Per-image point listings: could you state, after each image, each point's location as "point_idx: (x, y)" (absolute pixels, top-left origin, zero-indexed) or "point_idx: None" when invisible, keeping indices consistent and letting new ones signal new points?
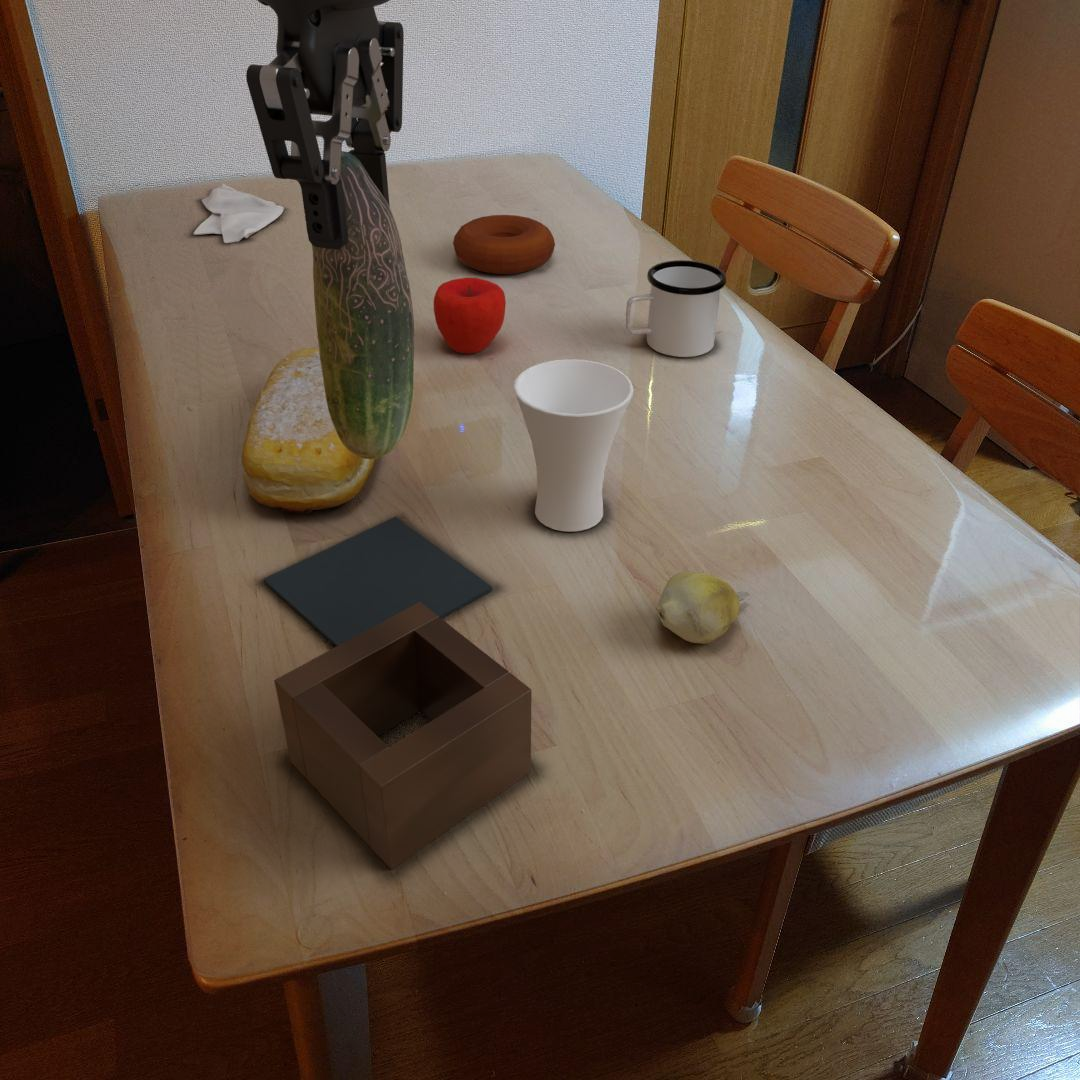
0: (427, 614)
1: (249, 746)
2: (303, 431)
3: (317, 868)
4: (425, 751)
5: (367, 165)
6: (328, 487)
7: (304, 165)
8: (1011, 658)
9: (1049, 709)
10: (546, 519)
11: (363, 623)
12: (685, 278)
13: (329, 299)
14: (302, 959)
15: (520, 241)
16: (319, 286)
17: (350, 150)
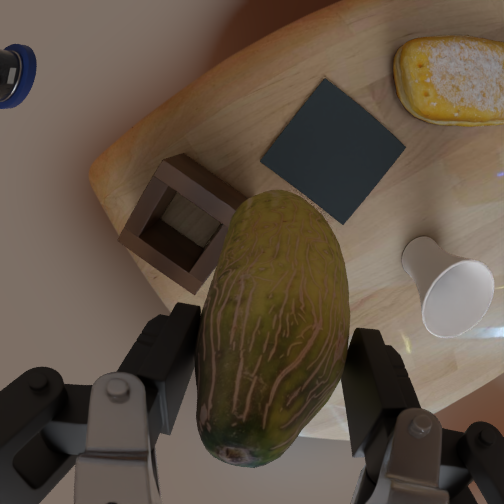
0: None
1: (188, 127)
2: (443, 80)
3: (133, 191)
4: (141, 254)
5: (359, 422)
6: (407, 103)
7: (35, 438)
8: (314, 425)
9: None
10: (408, 247)
11: (295, 154)
12: None
13: (215, 270)
14: (100, 202)
15: None
16: (223, 260)
17: (398, 408)
